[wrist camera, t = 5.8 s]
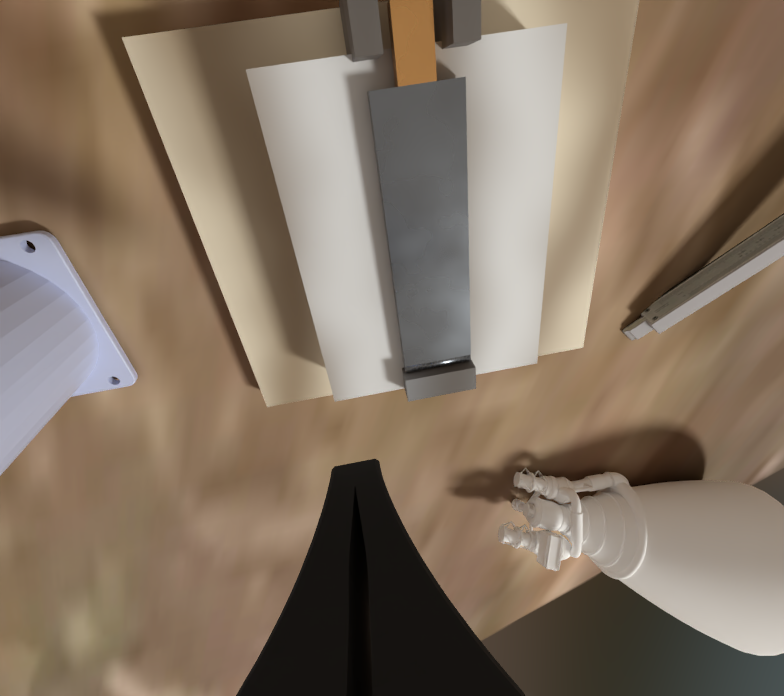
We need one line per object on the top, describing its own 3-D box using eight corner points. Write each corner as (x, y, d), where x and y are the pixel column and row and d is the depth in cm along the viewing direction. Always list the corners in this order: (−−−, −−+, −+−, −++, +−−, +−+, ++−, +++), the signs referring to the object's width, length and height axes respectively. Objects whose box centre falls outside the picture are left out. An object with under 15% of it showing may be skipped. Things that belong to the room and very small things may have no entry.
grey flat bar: (404, 367, 18) (406, 375, 18) (355, 8, 11) (357, 4, 11) (467, 355, 18) (470, 363, 18) (457, -6, 11) (464, -11, 11)
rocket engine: (528, 633, 22) (822, 700, 23) (559, 427, 24) (824, 495, 25) (467, 561, 33) (665, 607, 34) (492, 425, 35) (676, 472, 36)
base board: (269, 393, 22) (254, 470, 18) (135, 39, 14) (33, 3, 9) (571, 337, 23) (633, 395, 18) (623, -29, 15) (764, -94, 10)
